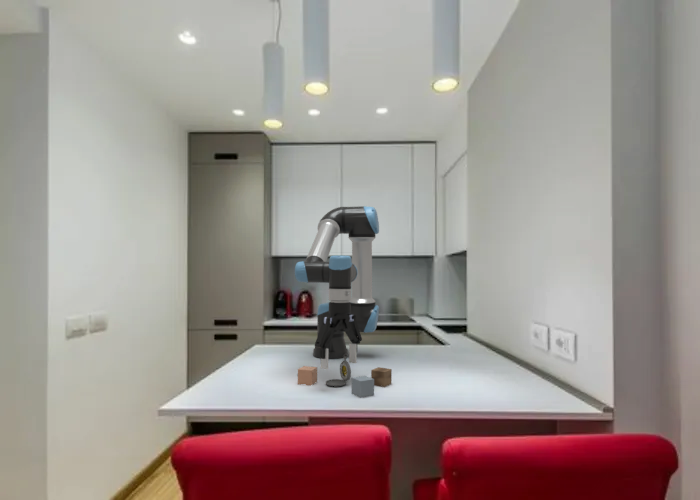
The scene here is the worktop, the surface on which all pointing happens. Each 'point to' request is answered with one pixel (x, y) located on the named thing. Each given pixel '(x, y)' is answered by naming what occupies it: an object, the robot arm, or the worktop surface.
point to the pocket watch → (345, 373)
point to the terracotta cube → (307, 375)
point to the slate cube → (362, 386)
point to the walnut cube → (381, 376)
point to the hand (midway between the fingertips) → (339, 365)
